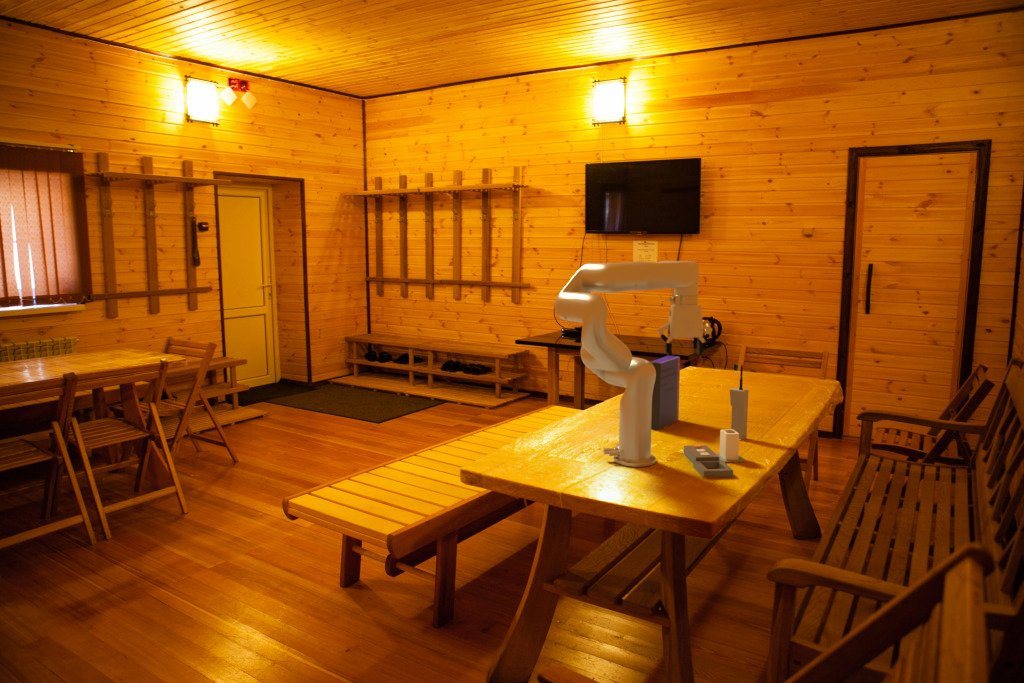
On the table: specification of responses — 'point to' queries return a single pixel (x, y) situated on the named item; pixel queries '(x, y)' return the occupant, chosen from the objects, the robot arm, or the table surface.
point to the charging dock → (707, 461)
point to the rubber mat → (732, 460)
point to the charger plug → (729, 444)
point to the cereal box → (665, 392)
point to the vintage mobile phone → (739, 409)
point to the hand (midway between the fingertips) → (684, 355)
